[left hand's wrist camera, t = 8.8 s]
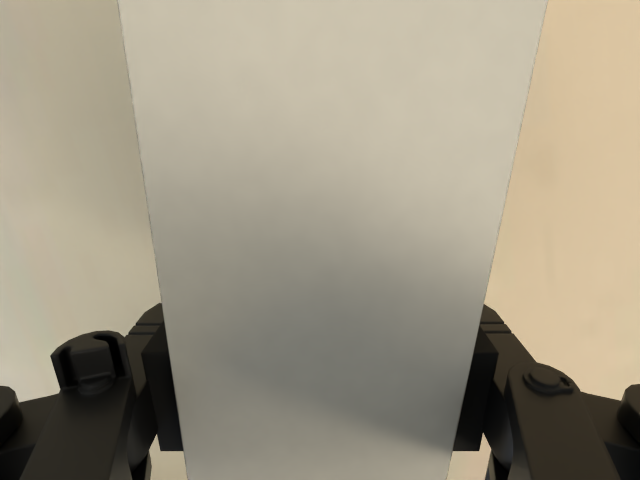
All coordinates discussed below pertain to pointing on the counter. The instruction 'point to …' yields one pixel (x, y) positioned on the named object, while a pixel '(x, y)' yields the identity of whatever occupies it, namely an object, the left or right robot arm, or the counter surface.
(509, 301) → the counter surface
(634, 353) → the counter surface
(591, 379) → the counter surface
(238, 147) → the bar
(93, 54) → the counter surface
